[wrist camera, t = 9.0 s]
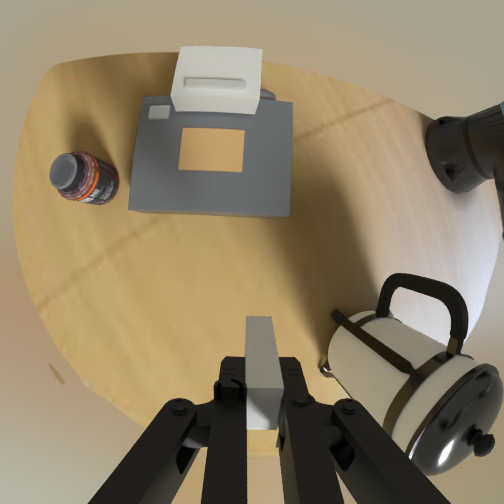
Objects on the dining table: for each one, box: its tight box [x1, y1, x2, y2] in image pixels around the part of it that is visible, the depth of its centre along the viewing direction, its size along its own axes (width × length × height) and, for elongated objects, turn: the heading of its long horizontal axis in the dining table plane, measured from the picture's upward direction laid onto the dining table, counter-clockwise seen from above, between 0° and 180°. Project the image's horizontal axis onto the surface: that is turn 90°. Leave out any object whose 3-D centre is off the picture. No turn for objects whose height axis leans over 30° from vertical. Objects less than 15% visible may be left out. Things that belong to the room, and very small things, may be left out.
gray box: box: [128, 89, 293, 219], centre depth 31 cm, size 18×16×8 cm
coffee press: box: [320, 273, 504, 476], centre depth 25 cm, size 17×16×30 cm
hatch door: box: [170, 46, 262, 115], centre depth 25 cm, size 9×7×5 cm
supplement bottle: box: [50, 151, 119, 205], centre depth 28 cm, size 6×6×11 cm
